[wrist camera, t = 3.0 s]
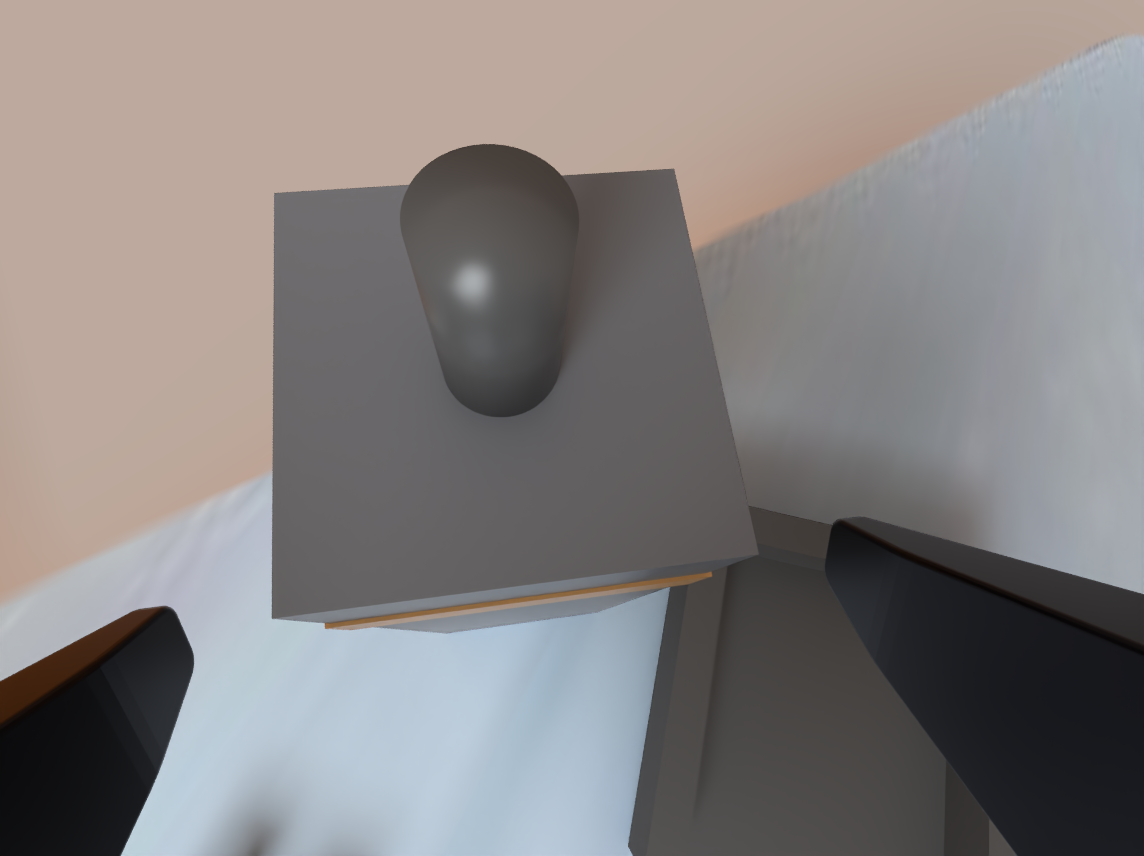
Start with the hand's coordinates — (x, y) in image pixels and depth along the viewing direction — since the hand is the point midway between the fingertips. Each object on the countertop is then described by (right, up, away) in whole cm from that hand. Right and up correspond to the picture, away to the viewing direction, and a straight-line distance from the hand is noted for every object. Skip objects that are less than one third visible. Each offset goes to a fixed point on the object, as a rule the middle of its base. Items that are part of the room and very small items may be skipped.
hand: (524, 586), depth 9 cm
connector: (-1, -2, +11) cm, 11 cm away
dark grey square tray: (+8, -6, +10) cm, 14 cm away
